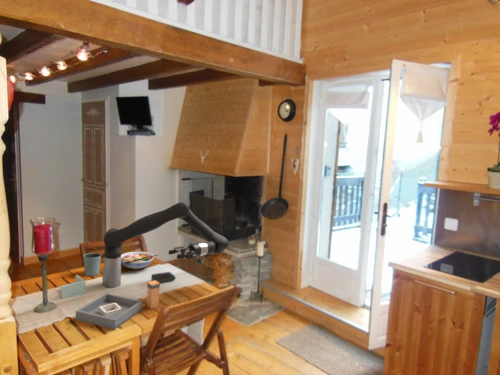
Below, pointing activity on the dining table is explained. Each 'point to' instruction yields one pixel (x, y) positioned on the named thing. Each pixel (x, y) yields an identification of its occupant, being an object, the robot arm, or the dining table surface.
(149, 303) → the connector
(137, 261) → the ramen bowl
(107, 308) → the walled box
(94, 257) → the teal tapered cup
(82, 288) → the l-shaped corner panel
